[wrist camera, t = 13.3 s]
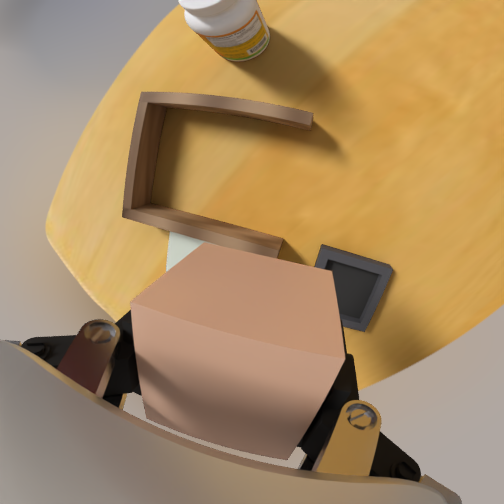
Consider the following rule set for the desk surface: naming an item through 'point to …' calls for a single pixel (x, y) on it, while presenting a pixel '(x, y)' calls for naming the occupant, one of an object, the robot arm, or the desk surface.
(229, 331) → the terracotta cube
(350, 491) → the robot arm
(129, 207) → the wooden tray frame
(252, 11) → the supplement bottle
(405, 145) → the desk surface
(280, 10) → the desk surface
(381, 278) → the dark gray rectangular tray
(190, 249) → the sage tile
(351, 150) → the desk surface
